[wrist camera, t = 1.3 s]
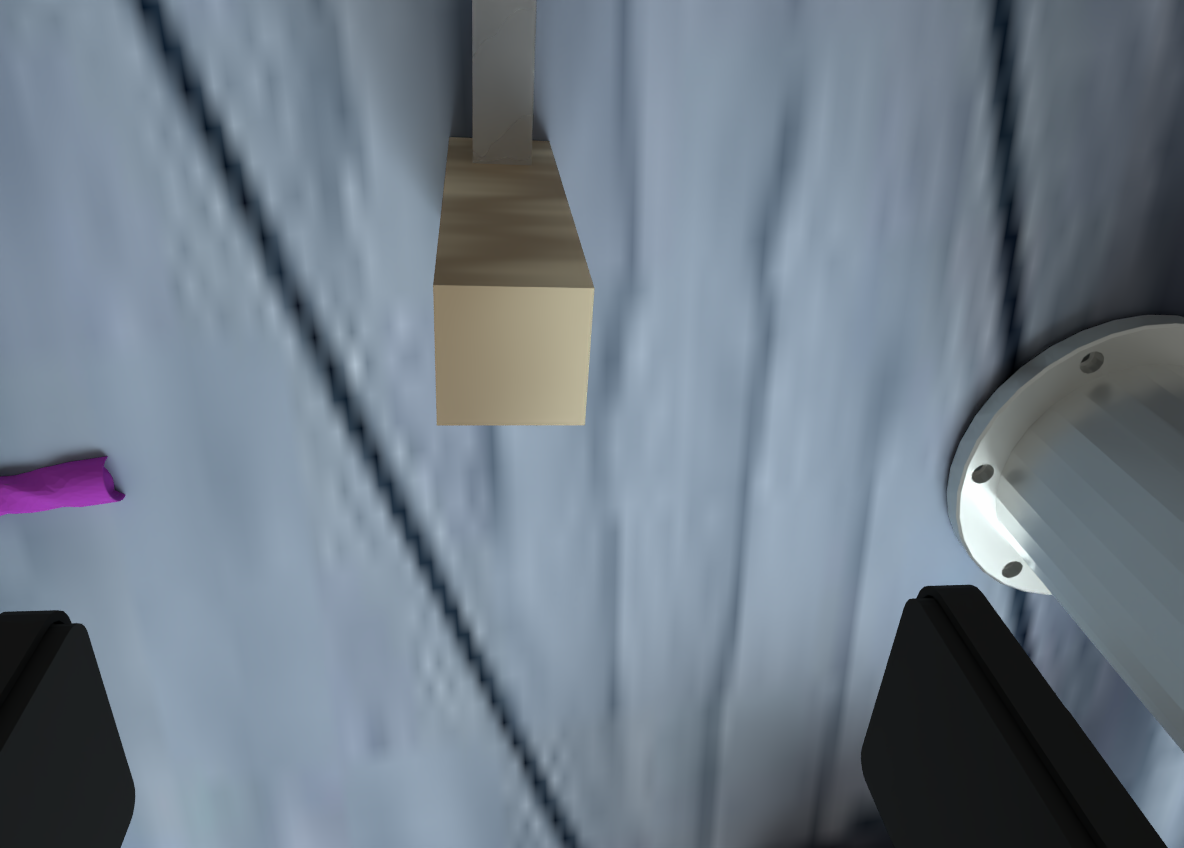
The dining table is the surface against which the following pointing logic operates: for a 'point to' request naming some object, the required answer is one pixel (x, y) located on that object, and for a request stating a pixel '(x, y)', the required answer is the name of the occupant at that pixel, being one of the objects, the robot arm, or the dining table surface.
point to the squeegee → (58, 487)
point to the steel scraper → (508, 251)
